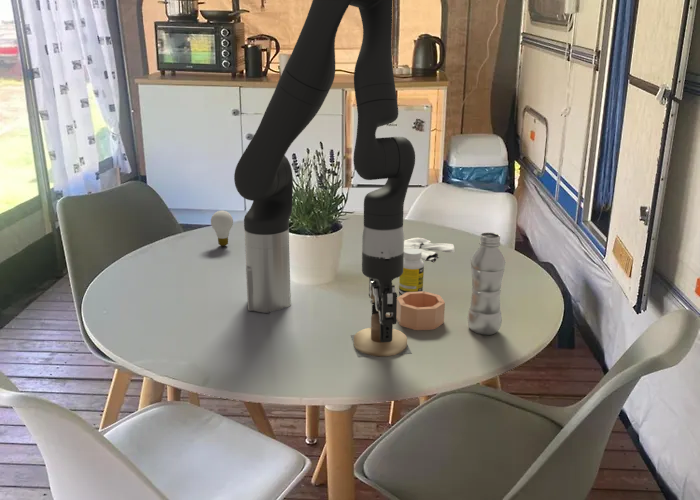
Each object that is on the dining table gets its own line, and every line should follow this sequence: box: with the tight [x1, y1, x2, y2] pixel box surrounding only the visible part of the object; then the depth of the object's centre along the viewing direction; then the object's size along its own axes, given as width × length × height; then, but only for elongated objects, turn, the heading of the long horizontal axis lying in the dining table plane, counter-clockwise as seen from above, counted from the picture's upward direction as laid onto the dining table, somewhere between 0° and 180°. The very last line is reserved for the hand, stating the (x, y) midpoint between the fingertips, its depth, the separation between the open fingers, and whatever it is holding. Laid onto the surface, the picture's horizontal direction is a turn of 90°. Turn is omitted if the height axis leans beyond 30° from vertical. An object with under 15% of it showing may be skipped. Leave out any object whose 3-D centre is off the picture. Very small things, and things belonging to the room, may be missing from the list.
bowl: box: [396, 291, 446, 331], centre depth 138 cm, size 9×9×5 cm
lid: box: [353, 313, 408, 357], centre depth 127 cm, size 10×10×6 cm
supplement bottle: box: [398, 249, 425, 295], centre depth 153 cm, size 5×5×10 cm
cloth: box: [404, 237, 456, 263], centre depth 181 cm, size 20×22×2 cm
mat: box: [350, 334, 412, 358], centre depth 128 cm, size 10×9×1 cm
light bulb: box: [210, 210, 234, 248], centre depth 183 cm, size 6×6×10 cm
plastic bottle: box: [466, 232, 506, 336], centre depth 132 cm, size 6×7×20 cm
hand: (381, 331), depth 127 cm, fingers open, 7 cm apart
